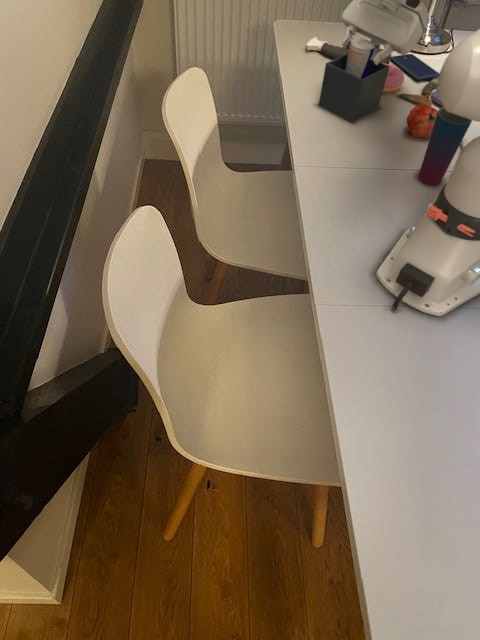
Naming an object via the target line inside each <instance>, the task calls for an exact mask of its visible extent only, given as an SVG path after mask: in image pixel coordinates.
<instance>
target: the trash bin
mask: <svg viewBox="0 0 480 640" xmlns="http://www.w3.org/2000/svg"><path fill="white" fill-rule="evenodd" d="M348 54H349V53H347V54H345V55H343V56H341V57H339V58H336V59H334V58H333V59H332V60H330V61H328V62H326V63H325V66H324V72H323V77H322V83H321V88H320V89H321V90H320V94H319V95H320V96H319V99H318V106H319V107H321V108H323V109H324V110H326V111H328V112H330V113H332V114H335V115H336V116H338V117H340V118H342V119H344V120H346V121H348V122H350V123H355V122H357V121H359V120H360V119H362V118H364V117H365V116H367V115H369V114H370V113H372V112H374V111H376V110H378V109H379V106H380V103H381V99H382V96H383V93H384V92H383V89H384V85H385V82H386V78H387V74H388V71H389V66H387V65H385V64H383V63H380V62H379V63H378V64H377V65H376V64H374V63H372V62H371V64H370V68H369V72H368V76H367V77H365V78H363V79H361V78H359V77H357V76H355V75H352V74H350V73H348V72H346V71H345V68H346V64H347V59H348Z"/></svg>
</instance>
